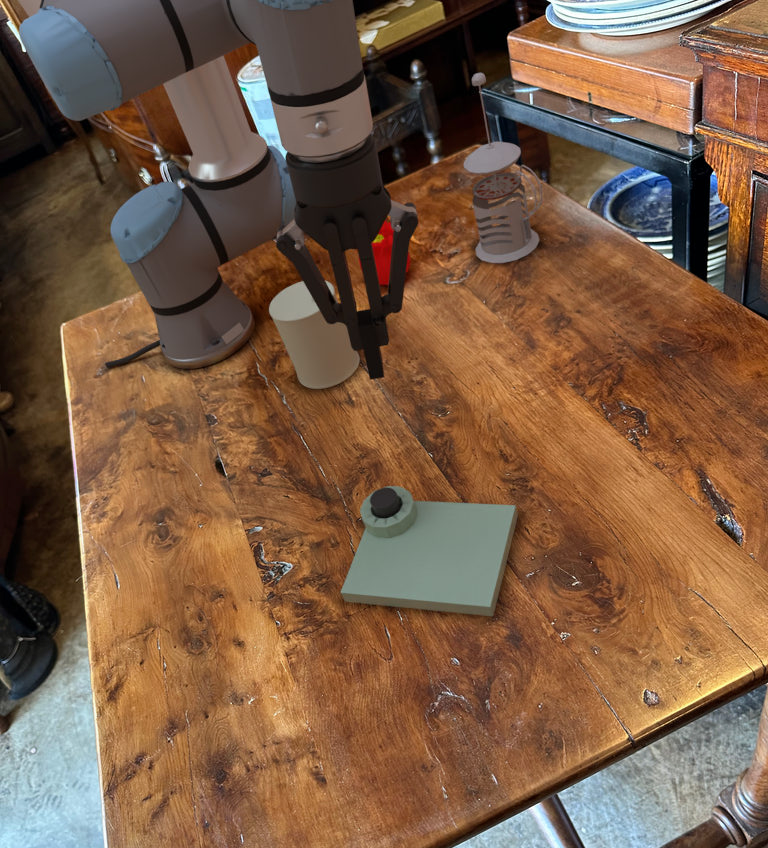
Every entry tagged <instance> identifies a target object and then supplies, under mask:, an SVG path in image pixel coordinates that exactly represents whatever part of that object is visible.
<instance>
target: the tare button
mask: <svg viewBox="0 0 768 848" xmlns="http://www.w3.org/2000/svg"><path fill="white" fill-rule="evenodd" d="M376 490H377V491H375V490H374V491H375V492H374V491H373V492H374V493H373V494H372V496H371V498H370V503H371V506H372V508H373V510H374V513H375V515H376V516H378V517H379V518H389V517H392V516H394V515H396V514H397V513H398V512H399V510H400V507H401V504H400V501H399V498H398V496H397V493H396V491H395V490H393V489H392V488H384V487H381V488H379V489H376Z"/></svg>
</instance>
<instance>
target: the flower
mask: <svg viewBox="0 0 768 848" xmlns="http://www.w3.org/2000/svg"><path fill="white" fill-rule="evenodd" d="M393 232H394V230H393V229H392V228H391V222H390V221H389V222H388V221H387V220H385V222H384V224H383V226H382V227H381V229H380V231H379V233H378V235H377V237H376V239H375V240H374V241H373V242H372V247H373V253H374V258H375V263H376V268H377V274H378V279H379V284H380V286H388V284H389V274H390V263H391V253H392V242H393ZM356 251H357V252H358V249H356ZM411 261H412V259H411V254H410V252H409V251H408V258H407V267H406V273H408V271H409V269H410V267H411V263H412V262H411ZM358 263H359V268H360V269H361V271H362V267H361V262H360V259H359V258H358Z"/></svg>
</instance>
